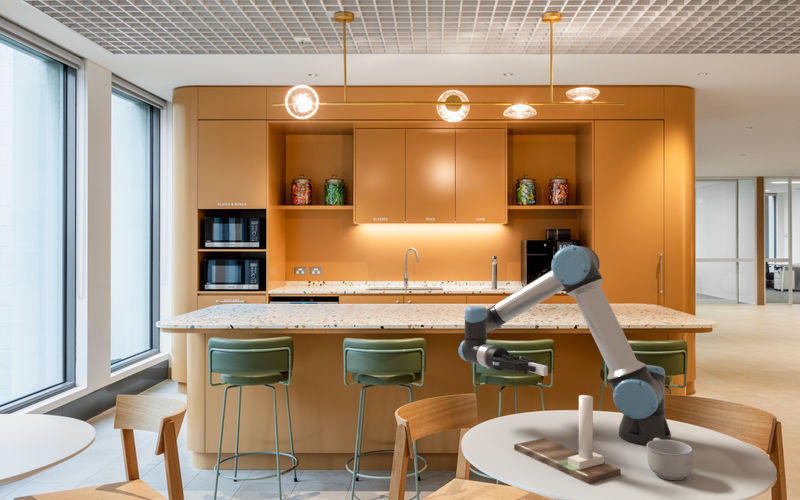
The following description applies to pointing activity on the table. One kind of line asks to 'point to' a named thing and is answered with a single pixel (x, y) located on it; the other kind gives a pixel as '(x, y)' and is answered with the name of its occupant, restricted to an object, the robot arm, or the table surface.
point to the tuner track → (565, 460)
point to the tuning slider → (585, 437)
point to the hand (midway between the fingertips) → (545, 371)
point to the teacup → (669, 458)
